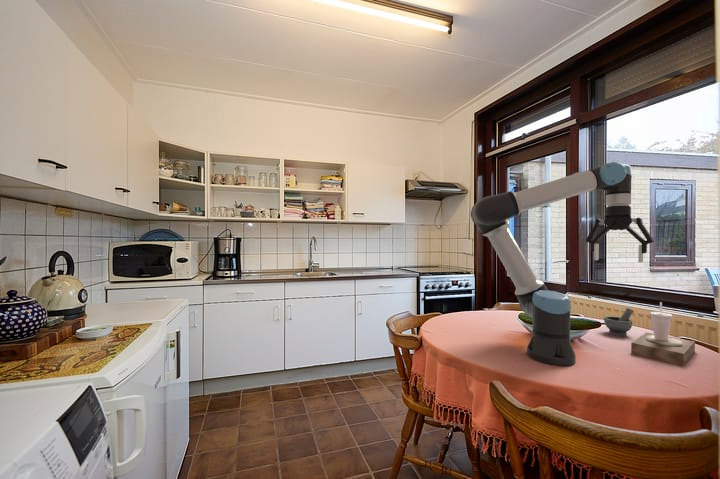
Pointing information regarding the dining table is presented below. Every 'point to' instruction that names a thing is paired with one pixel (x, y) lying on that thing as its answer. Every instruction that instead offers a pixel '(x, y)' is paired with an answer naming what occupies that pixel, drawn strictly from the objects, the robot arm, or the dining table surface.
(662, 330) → the smoothie
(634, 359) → the dining table surface
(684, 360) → the base
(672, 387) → the dining table surface
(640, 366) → the dining table surface
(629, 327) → the mortar and pestle
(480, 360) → the dining table surface
